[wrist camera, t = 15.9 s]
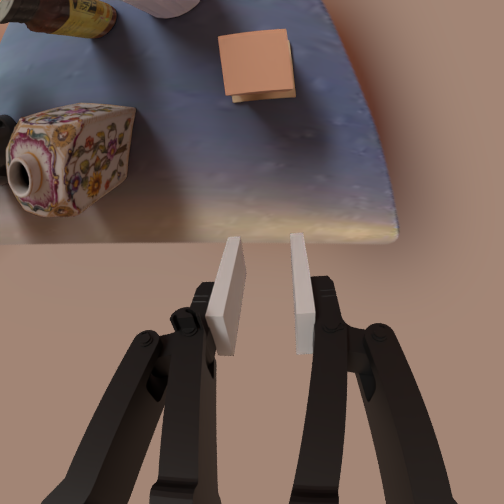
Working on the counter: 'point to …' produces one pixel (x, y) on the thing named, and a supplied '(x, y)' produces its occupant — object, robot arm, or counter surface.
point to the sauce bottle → (61, 16)
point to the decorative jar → (69, 157)
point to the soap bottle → (164, 7)
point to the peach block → (256, 62)
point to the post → (268, 95)
